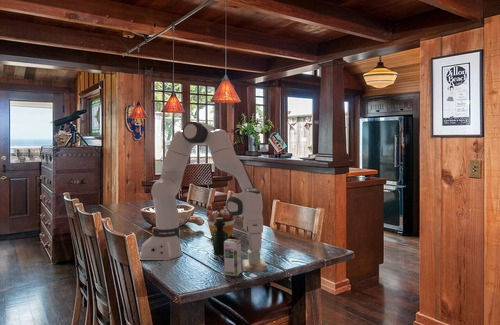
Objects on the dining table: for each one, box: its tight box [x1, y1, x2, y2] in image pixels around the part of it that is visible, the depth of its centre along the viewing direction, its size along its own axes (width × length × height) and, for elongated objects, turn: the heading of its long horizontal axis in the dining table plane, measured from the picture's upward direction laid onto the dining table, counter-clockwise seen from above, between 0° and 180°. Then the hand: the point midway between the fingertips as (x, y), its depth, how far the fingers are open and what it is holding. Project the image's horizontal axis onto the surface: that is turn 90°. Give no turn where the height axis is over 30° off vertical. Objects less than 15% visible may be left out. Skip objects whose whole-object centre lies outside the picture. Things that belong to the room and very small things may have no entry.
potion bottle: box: [211, 217, 229, 256], centre depth 198 cm, size 8×8×18 cm
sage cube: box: [247, 249, 261, 264], centre depth 176 cm, size 5×5×5 cm
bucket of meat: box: [206, 201, 238, 239], centre depth 232 cm, size 20×16×20 cm
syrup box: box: [223, 238, 242, 277], centre depth 168 cm, size 6×6×14 cm
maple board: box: [241, 258, 268, 272], centre depth 176 cm, size 10×10×2 cm
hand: (253, 255), depth 176 cm, fingers open, 8 cm apart
